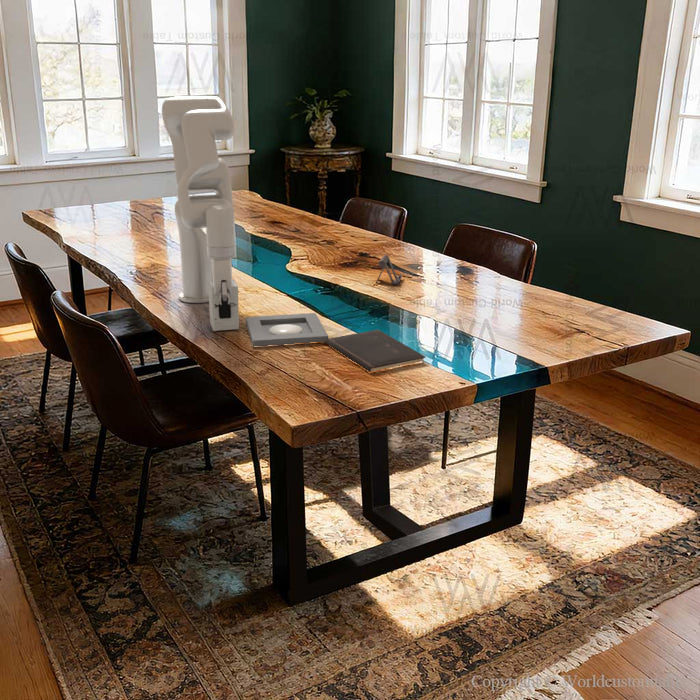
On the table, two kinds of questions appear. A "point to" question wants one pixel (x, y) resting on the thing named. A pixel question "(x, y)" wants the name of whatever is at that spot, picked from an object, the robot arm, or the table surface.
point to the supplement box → (214, 309)
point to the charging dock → (285, 329)
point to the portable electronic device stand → (383, 264)
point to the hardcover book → (375, 350)
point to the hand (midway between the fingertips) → (224, 312)
